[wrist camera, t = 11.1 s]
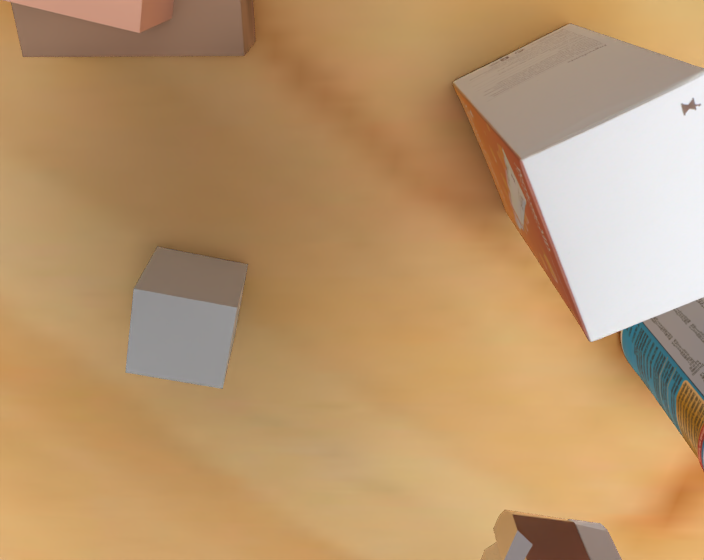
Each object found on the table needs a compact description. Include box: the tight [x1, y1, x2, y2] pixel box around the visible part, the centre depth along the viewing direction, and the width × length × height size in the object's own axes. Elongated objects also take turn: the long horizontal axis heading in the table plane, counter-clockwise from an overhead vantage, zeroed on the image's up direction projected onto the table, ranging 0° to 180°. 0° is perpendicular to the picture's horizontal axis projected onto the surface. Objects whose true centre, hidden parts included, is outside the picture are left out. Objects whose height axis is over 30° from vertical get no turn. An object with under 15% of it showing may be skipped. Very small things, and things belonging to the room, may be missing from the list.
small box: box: [453, 24, 704, 342], centre depth 28 cm, size 8×6×13 cm
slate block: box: [126, 247, 248, 389], centre depth 35 cm, size 5×5×5 cm
